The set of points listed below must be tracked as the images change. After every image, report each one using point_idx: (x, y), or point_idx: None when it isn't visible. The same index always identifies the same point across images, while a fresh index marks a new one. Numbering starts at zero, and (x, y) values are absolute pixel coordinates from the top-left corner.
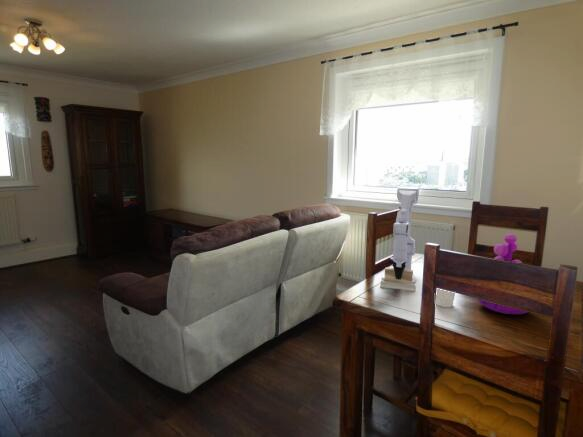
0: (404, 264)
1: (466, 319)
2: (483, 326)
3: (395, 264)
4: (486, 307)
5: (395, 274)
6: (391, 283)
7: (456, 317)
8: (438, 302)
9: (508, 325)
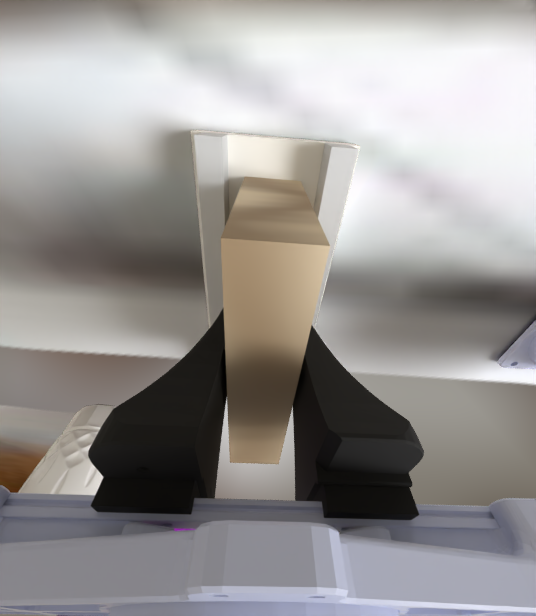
0: (295, 487)
1: (26, 446)
2: (13, 462)
3: (125, 469)
4: None
5: (207, 333)
6: (205, 251)
7: (16, 432)
8: (69, 423)
9: None
